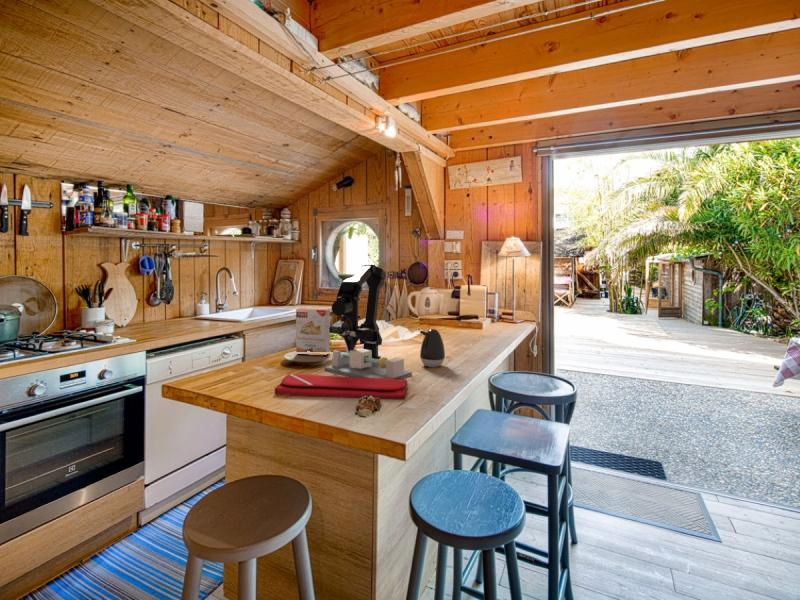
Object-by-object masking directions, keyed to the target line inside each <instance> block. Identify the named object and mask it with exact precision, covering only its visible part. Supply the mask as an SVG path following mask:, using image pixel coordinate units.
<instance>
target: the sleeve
mask: <svg viewBox="0 0 800 600" xmlns="http://www.w3.org/2000/svg"><path fill="white" fill-rule="evenodd" d="M364 357H368V358H372V350H367V349H363V348H356V349H355V348H354V350H350V366H351V367H356V368H360V369H362V368H365V367H369V366H372V364H373V363H371V362H366V361H364Z"/></svg>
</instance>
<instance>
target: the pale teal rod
mask: <svg viewBox="0 0 800 600" xmlns="http://www.w3.org/2000/svg"><path fill="white" fill-rule="evenodd" d="M340 354H344V357H347V358H350V354H348V353H346V352H345V353H343V351H340ZM386 360H389V359H388V358H387V357H384V356H383V357H382V356H381V358H377V359H373V358H368V357H364V361H366V362H371V363H372V364H376V365H379V366H380V368H383V369H385V368H386Z"/></svg>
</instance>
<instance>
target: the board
mask: <svg viewBox="0 0 800 600" xmlns="http://www.w3.org/2000/svg"><path fill="white" fill-rule="evenodd" d="M340 352H341V351H340V350H332V358H331V365H328V366H324V371H327V372H331V373H334V374H340V375H343V376H346V377H357V378H388V379H399V380H403V379H404V377H405V378H408V377H410V375H411V376H412V375H413V374H412V373H413V372H412V371H409V370H405V368H404V366H405V358H401V357H393V358H389V359H388V360H386V368H385V369H383V368H380V366H379V364H376V363H372V366H369V367H365V368H362V369H360V368H356V367H351V366H350V358H347V357H344V354H340ZM342 352H343V351H342ZM343 353H348V354H350V353H349V351H348V348H347V347H345V352H343ZM407 376H408V377H407Z"/></svg>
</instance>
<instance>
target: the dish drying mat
mask: <svg viewBox="0 0 800 600" xmlns="http://www.w3.org/2000/svg"><path fill="white" fill-rule="evenodd" d="M407 386H408V380H406V379H405V380H404V379H388V378H357V377H351V376H342V375H341V376H339V375H338V376H337V375H323V374H322V375H319V374H305V373H304V374H303V373H287V375H286V376H285V377H283V378H282V379H281V381H280V384H278V385H277V386H275V388H274V395H276V394H289V395H288V396H299V395H304V396H306V397H325V396H326V397H327V398H328V397H330V398H359V399H361V398H362V397H364V396H368V397H370V396H372V397H373V398H374V397H375V398H377V397H379V398H380V399H388V400H389V399H395V400H397V399H398V400H401V399H403V400H404V399H406V391H407Z"/></svg>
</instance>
